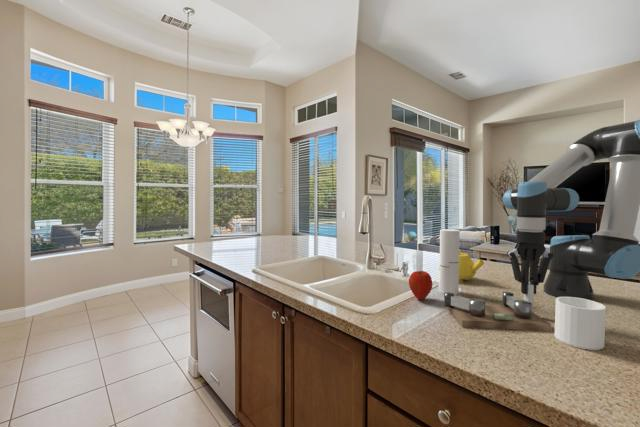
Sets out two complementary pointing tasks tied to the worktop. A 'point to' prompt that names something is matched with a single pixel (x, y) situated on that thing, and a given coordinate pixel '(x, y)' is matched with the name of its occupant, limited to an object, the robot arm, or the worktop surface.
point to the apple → (420, 284)
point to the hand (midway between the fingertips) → (528, 303)
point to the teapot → (467, 267)
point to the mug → (580, 322)
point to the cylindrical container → (449, 261)
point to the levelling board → (498, 324)
